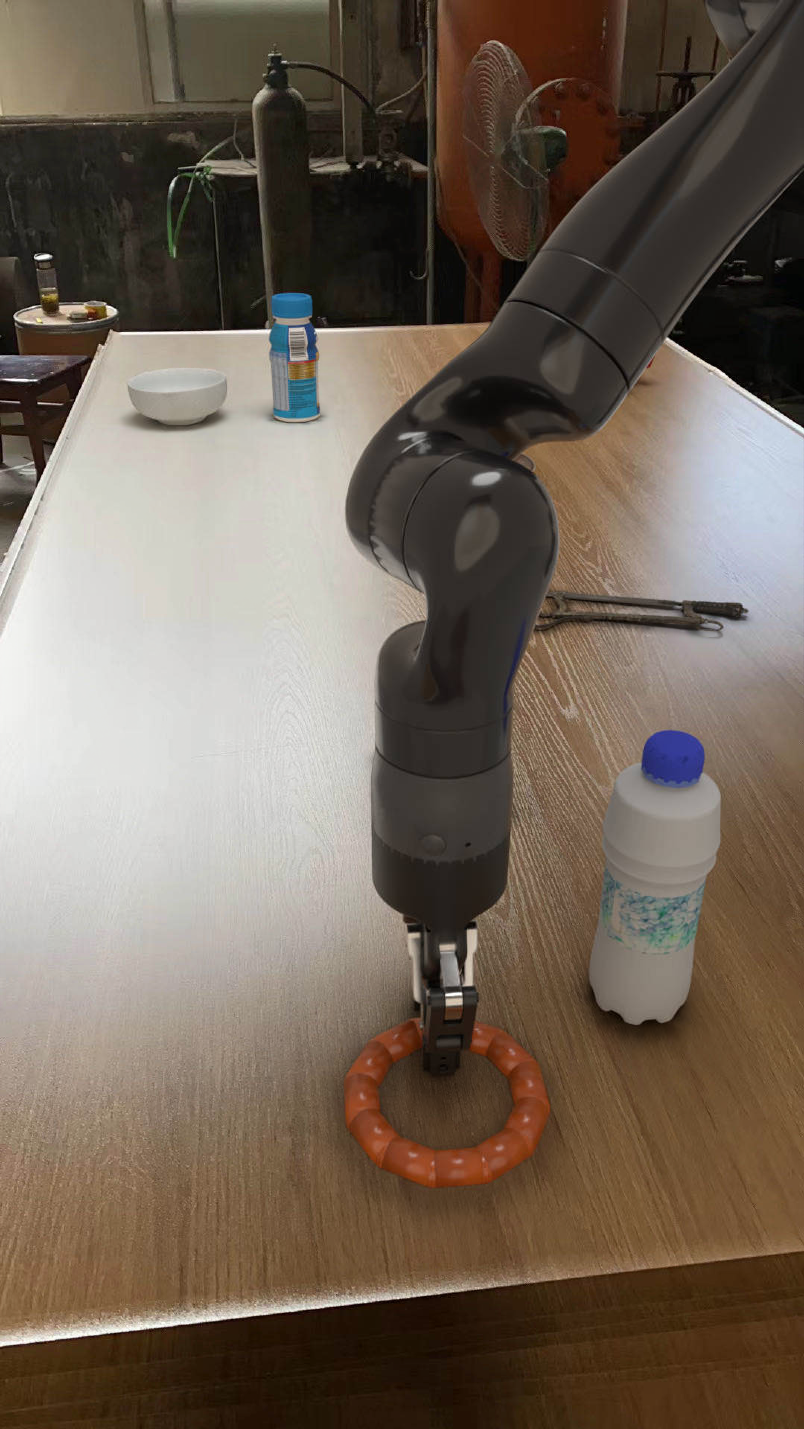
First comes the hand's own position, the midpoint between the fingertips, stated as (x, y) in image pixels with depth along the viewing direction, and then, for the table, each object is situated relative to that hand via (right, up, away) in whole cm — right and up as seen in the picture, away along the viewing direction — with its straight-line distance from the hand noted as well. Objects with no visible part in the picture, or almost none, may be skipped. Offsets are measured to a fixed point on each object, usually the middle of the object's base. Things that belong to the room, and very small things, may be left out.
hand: (435, 1039), depth 67 cm
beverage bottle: (-20, +72, +124) cm, 144 cm away
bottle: (+13, +1, +4) cm, 14 cm away
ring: (0, -2, -4) cm, 5 cm away
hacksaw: (+23, +30, +53) cm, 65 cm away
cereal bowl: (-40, +71, +122) cm, 147 cm away
